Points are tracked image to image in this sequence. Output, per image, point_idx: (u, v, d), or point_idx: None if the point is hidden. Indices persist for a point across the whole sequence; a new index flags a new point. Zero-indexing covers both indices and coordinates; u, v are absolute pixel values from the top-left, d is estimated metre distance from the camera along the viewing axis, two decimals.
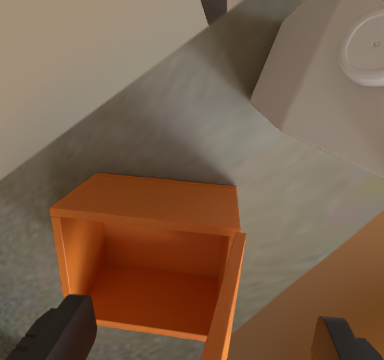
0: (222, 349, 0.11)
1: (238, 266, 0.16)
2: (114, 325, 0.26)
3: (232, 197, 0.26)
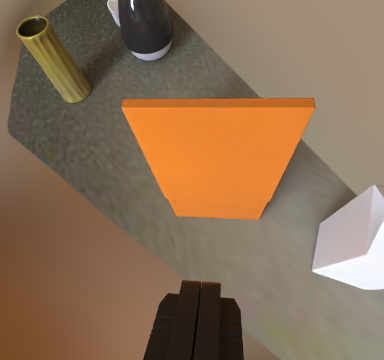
0: (288, 161, 0.23)
1: None
2: None
3: None
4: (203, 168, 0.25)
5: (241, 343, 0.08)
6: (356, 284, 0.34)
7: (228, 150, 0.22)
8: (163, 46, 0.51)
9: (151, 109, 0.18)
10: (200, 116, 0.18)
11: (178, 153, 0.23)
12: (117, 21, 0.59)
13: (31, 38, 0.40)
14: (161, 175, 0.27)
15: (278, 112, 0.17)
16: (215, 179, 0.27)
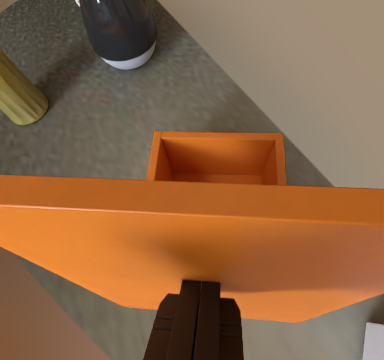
0: (363, 299, 0.10)
1: None
2: (150, 175, 0.25)
3: None
4: (179, 292, 0.12)
5: (241, 343, 0.08)
6: None
7: (230, 280, 0.09)
8: (142, 51, 0.38)
9: None
10: (147, 228, 0.06)
11: (119, 275, 0.10)
12: None
13: None
14: (102, 291, 0.14)
15: None
16: None
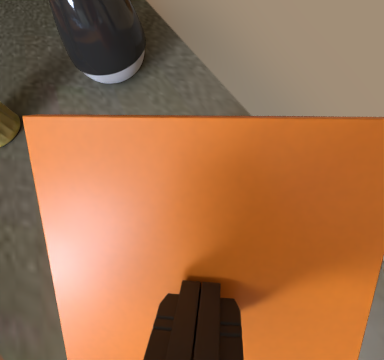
0: (369, 309, 0.10)
1: None
2: None
3: None
4: None
5: (241, 343, 0.08)
6: None
7: (230, 261, 0.10)
8: (128, 64, 0.33)
9: (79, 121, 0.09)
10: (173, 142, 0.09)
11: (121, 265, 0.10)
12: None
13: None
14: (79, 344, 0.12)
15: (337, 133, 0.08)
16: None
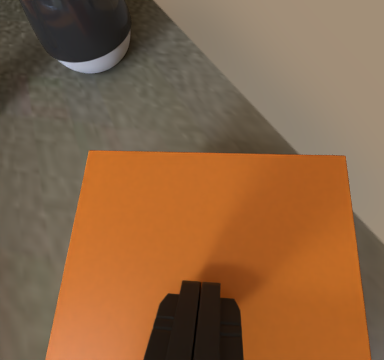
0: (366, 321, 0.10)
1: None
2: None
3: None
4: None
5: (241, 343, 0.08)
6: None
7: (230, 265, 0.11)
8: (109, 48, 0.27)
9: (127, 153, 0.13)
10: (189, 167, 0.13)
11: (131, 272, 0.12)
12: None
13: None
14: None
15: (298, 162, 0.12)
16: None
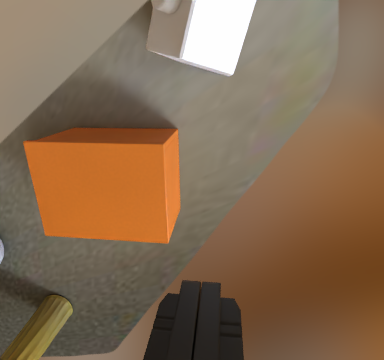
0: (79, 142, 0.30)
1: (127, 143, 0.29)
2: None
3: (170, 132, 0.35)
4: (101, 203, 0.32)
5: (241, 343, 0.08)
6: None
7: (73, 185, 0.32)
8: None
9: (43, 222, 0.34)
10: (42, 199, 0.33)
11: (83, 217, 0.33)
12: None
13: None
14: (118, 235, 0.33)
15: (30, 159, 0.31)
16: (118, 195, 0.31)
